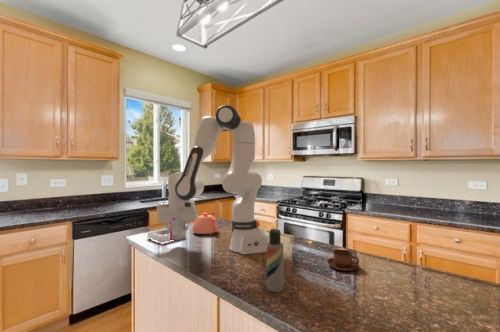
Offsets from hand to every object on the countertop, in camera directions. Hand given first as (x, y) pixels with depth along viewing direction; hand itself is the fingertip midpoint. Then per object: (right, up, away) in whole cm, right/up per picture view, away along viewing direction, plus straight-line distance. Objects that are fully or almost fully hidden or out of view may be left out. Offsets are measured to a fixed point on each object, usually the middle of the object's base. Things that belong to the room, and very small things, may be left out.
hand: (177, 230), depth 133 cm
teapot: (+9, -9, +28) cm, 30 cm away
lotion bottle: (+46, -9, -45) cm, 65 cm away
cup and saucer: (+75, -9, -27) cm, 80 cm away
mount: (-10, -9, +14) cm, 20 cm away
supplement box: (0, -5, 0) cm, 5 cm away
